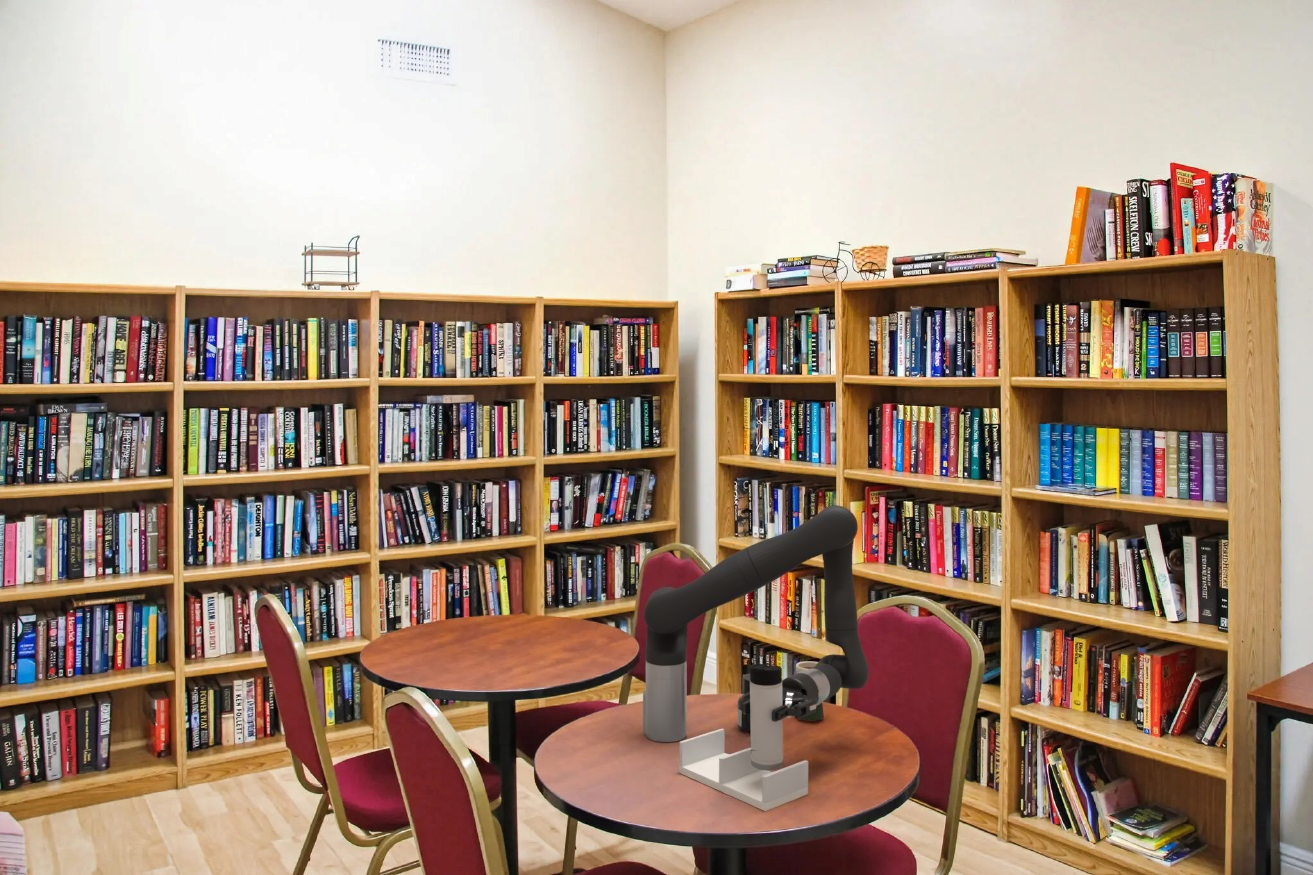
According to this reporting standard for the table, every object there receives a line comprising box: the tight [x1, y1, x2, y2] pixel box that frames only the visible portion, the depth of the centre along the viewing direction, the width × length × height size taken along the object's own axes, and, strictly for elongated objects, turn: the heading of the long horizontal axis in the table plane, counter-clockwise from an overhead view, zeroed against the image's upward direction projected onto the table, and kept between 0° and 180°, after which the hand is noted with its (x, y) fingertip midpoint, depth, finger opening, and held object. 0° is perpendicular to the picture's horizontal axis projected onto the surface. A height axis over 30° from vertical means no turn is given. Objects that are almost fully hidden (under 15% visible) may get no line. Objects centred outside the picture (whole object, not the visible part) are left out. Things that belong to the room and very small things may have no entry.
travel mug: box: [749, 663, 784, 771], centre depth 197 cm, size 6×7×20 cm
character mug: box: [795, 660, 825, 722], centre depth 240 cm, size 11×7×13 cm, turn 25°
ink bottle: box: [736, 672, 751, 734], centre depth 234 cm, size 10×9×12 cm
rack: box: [679, 728, 809, 812], centre depth 202 cm, size 24×12×6 cm, turn 41°
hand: (758, 712), depth 195 cm, fingers closed on travel mug, 6 cm apart
